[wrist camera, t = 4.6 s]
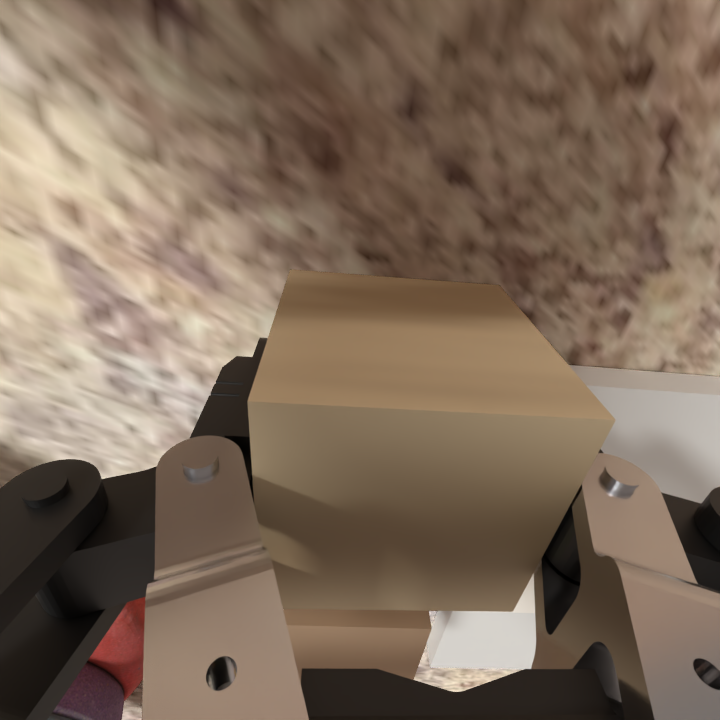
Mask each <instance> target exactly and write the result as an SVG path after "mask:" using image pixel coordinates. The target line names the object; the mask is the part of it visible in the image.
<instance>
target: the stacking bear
mask: <svg viewBox="0 0 720 720" xmlns="http://www.w3.org/2000/svg"><path fill="white" fill-rule="evenodd" d="M145 598H146V597H143V598H140V599H136V600H133V601H130V602H127V604H126V605H125V607H124V608H123V610H122V611H121V613H120V614H119V615H118V617H117V618H116V620H115V621H114V623H113V624H112V626H111V627H110V629H109V630H108V632H107V633H106V635H105V636H104V637H103V639H102V640H101V642H100V643H99V645H98V646H97V648H96V649H95V651H94V652H93V654H92V655H91V656H90V658H89V659H88V661H87V662H86V664H85V665H84V667H83V668H82V670H81V671H80V673H79V674H78V676H77V677H76V678H75V680H74V681H73V683H72V684H71V686H70V687H69V689H68V690H67V692H66V693H65V695H64V696H63V698H62V699H61V700H60V702H59V703H58V705H57V706H56V708H55V709H54V711H53V712H52V714H51V715H50V717H49V718H48V720H121V719H122V713H123V705H124V701H125V700H126V699H127V698H128V697H129V696H130V695H131V694H132V693H133V691H134V690H135V689H136V688H137V686H138V685H139V684H140V682H141V681H142V680H143V659H144V624H145Z"/></svg>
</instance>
